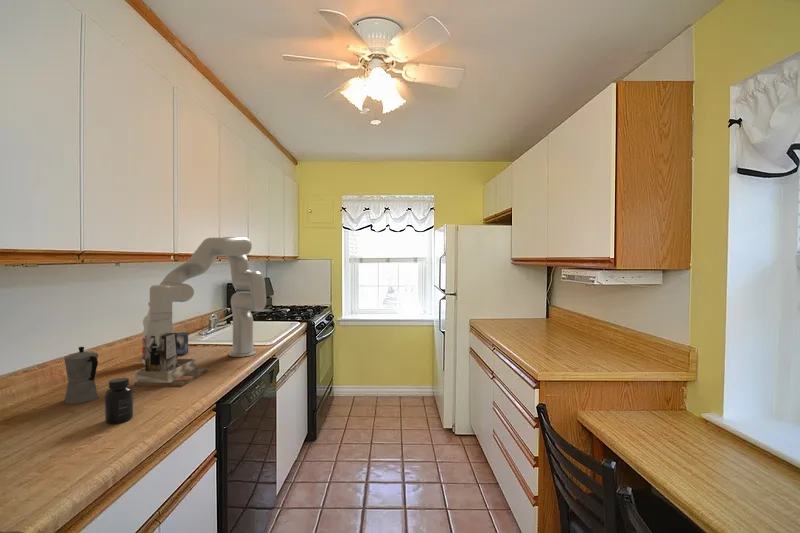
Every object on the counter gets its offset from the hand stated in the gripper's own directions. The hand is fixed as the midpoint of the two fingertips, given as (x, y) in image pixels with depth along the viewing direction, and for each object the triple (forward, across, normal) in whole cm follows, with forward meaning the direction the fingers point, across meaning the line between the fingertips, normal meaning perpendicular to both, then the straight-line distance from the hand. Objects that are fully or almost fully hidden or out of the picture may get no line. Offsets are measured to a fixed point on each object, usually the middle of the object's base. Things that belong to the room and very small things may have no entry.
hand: (161, 361), depth 150 cm
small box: (+8, -41, -19) cm, 46 cm away
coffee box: (+5, 0, 0) cm, 5 cm away
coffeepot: (+8, +21, -14) cm, 26 cm away
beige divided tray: (+8, -4, +2) cm, 9 cm away
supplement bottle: (+8, +36, +9) cm, 38 cm away
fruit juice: (+8, -25, -19) cm, 32 cm away
